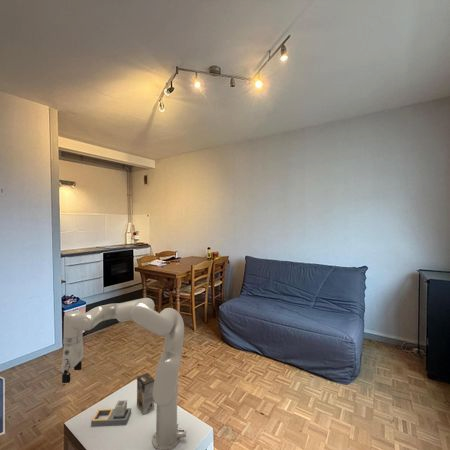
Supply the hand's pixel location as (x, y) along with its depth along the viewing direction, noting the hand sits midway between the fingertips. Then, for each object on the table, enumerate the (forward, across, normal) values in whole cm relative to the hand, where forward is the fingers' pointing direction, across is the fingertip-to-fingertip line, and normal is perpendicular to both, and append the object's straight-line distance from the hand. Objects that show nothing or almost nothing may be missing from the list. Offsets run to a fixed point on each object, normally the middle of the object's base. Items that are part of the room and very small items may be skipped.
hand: (72, 376), depth 112 cm
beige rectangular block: (+30, +12, -18) cm, 37 cm away
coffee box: (+30, +20, -29) cm, 46 cm away
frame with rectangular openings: (+30, +12, -14) cm, 35 cm away
